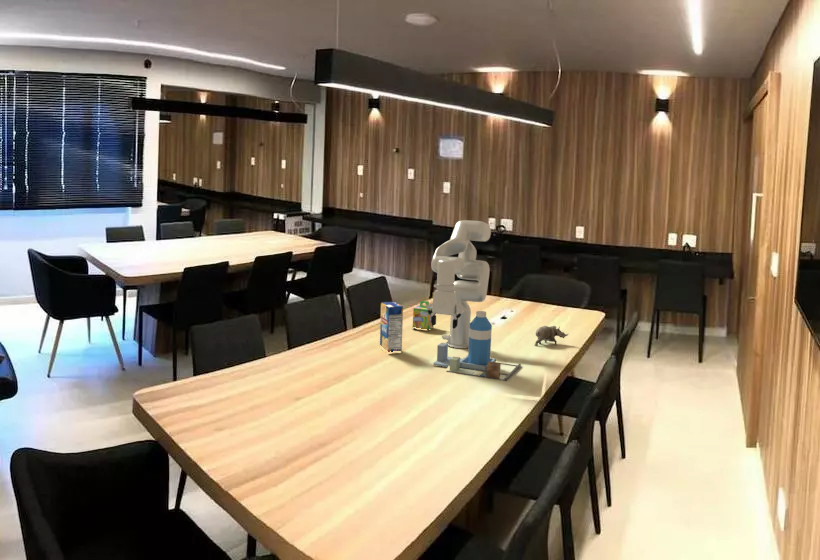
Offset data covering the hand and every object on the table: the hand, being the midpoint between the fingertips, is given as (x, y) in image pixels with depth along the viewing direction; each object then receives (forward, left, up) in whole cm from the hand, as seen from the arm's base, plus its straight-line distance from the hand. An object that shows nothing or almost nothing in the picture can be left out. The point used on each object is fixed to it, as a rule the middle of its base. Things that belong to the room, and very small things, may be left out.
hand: (444, 326), depth 296 cm
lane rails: (+20, -4, -16) cm, 26 cm away
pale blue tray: (+10, -1, -16) cm, 19 cm away
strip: (+13, -11, -16) cm, 24 cm away
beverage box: (-28, +6, -17) cm, 33 cm away
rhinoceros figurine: (+35, +55, -17) cm, 67 cm away
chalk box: (-31, +53, -17) cm, 64 cm away
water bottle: (+17, -1, -17) cm, 24 cm away
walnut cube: (+26, -11, -15) cm, 32 cm away
